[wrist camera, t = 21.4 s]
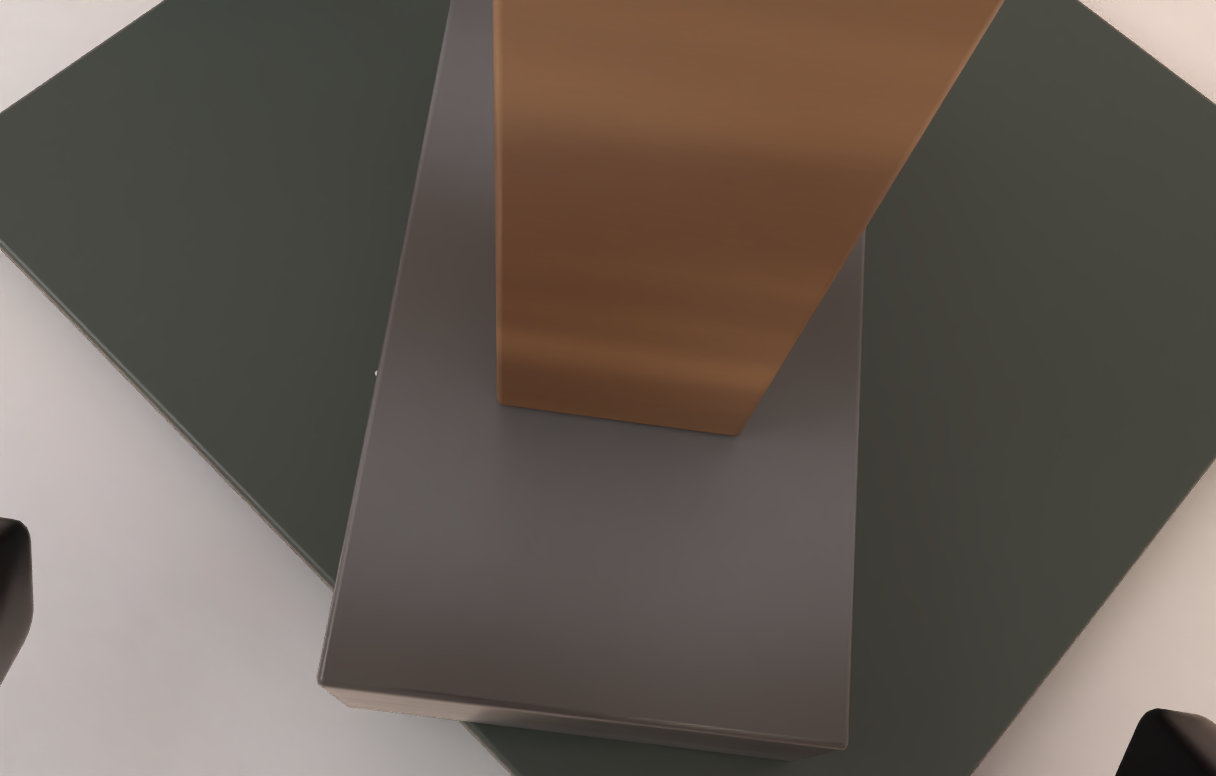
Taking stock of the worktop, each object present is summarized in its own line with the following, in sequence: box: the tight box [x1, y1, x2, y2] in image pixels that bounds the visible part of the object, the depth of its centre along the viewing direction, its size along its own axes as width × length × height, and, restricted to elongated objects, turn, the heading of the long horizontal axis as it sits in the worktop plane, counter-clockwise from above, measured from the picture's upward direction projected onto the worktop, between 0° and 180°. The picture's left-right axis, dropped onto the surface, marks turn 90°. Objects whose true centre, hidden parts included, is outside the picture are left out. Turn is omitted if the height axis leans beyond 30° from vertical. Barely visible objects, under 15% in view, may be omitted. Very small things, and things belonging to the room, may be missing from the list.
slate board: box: [0, 0, 1216, 776], centre depth 19 cm, size 16×17×1 cm
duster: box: [317, 0, 1005, 761], centre depth 10 cm, size 10×6×15 cm, turn 174°
